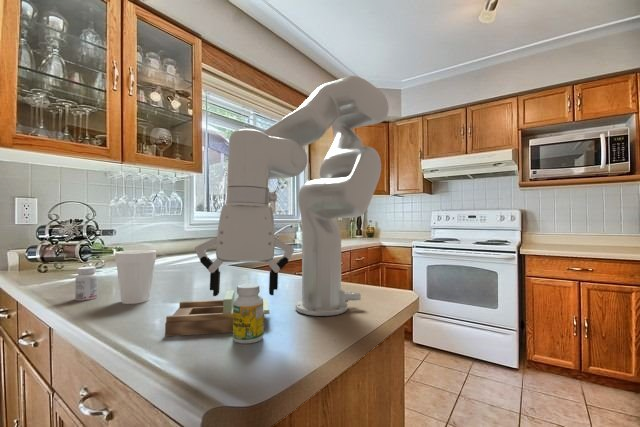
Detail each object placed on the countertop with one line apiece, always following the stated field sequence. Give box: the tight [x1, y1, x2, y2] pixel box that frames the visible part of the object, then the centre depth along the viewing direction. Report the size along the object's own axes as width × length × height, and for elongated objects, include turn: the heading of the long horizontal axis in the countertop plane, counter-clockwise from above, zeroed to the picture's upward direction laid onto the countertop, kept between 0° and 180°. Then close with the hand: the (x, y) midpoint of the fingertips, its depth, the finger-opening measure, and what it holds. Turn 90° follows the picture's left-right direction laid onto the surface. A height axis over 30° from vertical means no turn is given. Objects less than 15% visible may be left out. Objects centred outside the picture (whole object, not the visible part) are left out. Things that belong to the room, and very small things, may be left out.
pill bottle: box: [74, 266, 98, 301], centre depth 85 cm, size 5×5×8 cm
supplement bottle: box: [232, 283, 264, 345], centre depth 56 cm, size 5×5×10 cm
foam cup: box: [114, 249, 157, 305], centre depth 83 cm, size 10×9×13 cm
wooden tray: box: [164, 297, 265, 337], centre depth 65 cm, size 18×12×3 cm, turn 102°
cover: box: [222, 289, 270, 315], centre depth 66 cm, size 9×9×3 cm
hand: (244, 294), depth 56 cm, fingers open, 9 cm apart
